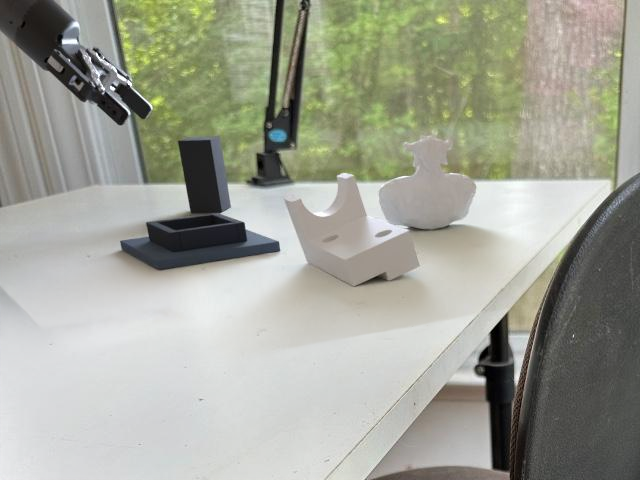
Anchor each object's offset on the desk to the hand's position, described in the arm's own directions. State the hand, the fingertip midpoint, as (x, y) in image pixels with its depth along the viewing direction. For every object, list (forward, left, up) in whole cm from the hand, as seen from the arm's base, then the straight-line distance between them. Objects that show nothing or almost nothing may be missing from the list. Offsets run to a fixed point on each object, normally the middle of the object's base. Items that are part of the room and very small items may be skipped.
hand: (137, 117), depth 121 cm
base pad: (+26, -17, -12) cm, 33 cm away
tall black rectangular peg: (+7, +4, -12) cm, 14 cm away
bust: (+44, +4, -12) cm, 46 cm away
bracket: (+49, -18, -12) cm, 54 cm away
